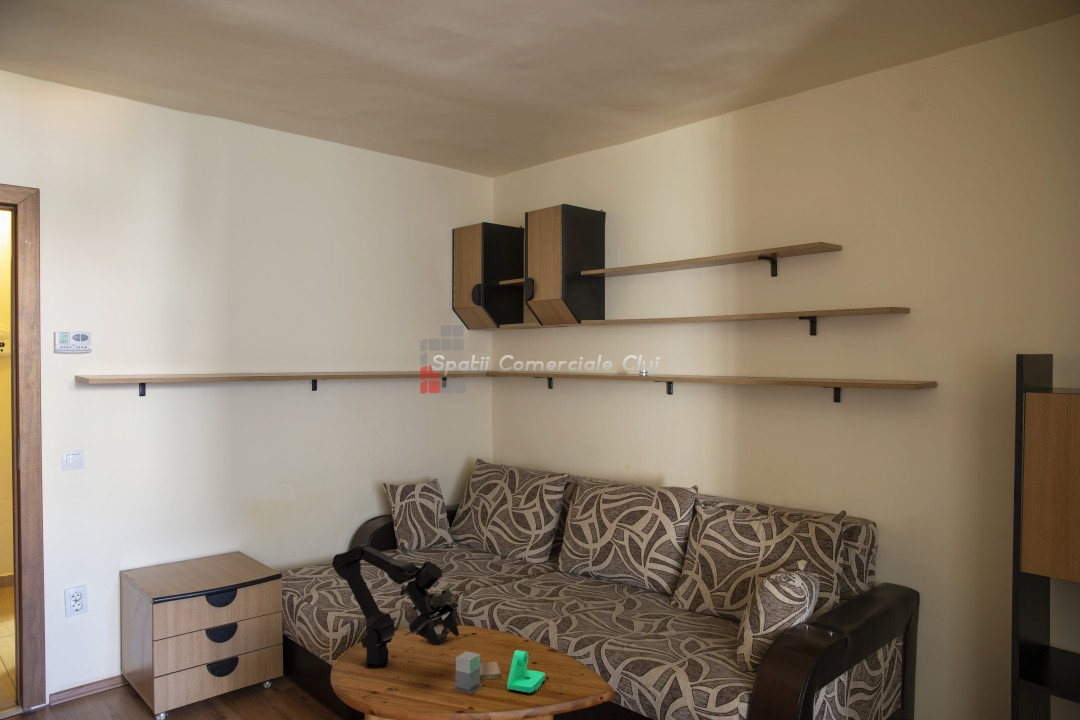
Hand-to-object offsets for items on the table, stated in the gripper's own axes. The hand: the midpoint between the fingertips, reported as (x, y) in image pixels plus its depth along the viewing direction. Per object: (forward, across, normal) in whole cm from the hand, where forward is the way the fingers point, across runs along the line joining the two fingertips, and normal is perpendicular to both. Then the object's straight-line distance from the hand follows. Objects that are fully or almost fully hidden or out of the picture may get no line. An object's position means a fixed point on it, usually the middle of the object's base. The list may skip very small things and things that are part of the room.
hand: (449, 640), depth 222 cm
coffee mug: (-7, +27, +25) cm, 38 cm away
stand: (+13, +12, +6) cm, 18 cm away
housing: (+14, 0, +4) cm, 15 cm away
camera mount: (+25, +10, -6) cm, 27 cm away
